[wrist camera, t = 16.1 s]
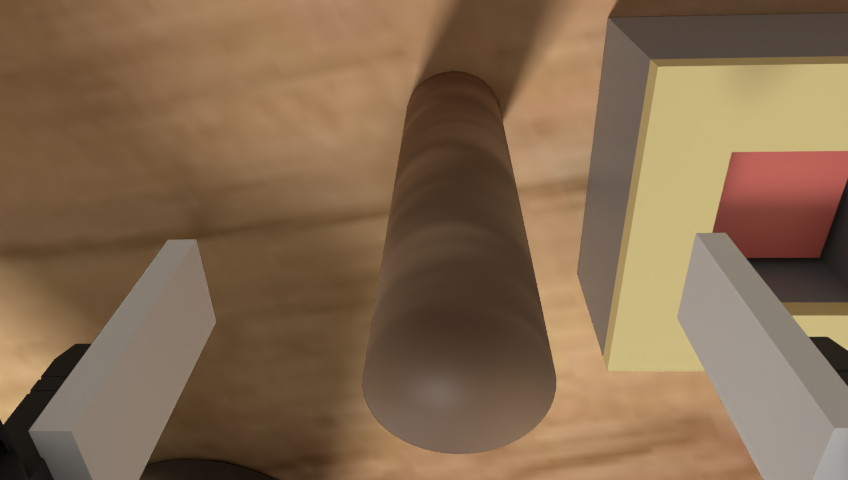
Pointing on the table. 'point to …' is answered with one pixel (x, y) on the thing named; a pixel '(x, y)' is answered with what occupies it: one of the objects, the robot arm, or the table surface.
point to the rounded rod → (457, 284)
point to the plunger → (781, 201)
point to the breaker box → (704, 168)
